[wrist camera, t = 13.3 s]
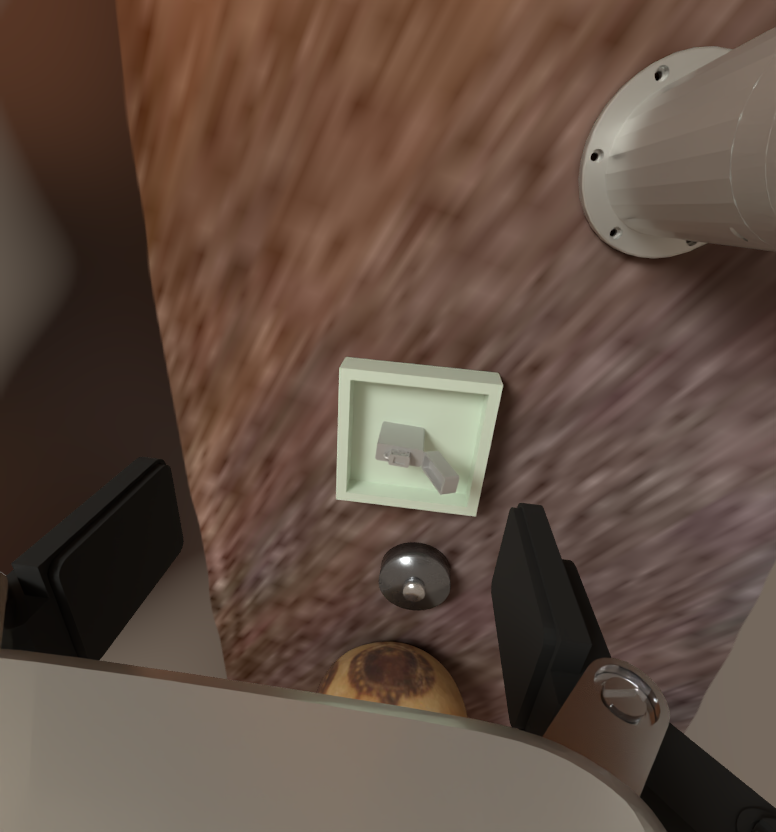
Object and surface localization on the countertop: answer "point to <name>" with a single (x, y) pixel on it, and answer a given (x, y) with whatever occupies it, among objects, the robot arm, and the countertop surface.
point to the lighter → (415, 455)
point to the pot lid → (415, 576)
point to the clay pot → (394, 678)
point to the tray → (422, 407)
